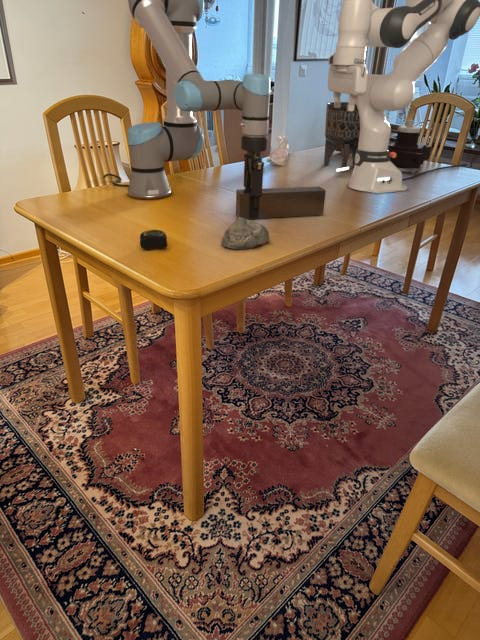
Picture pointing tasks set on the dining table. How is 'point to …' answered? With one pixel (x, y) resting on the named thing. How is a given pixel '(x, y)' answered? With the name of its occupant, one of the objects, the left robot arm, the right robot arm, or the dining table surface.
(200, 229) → the dining table surface
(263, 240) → the rock
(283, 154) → the figurine
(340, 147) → the toy
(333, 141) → the planter
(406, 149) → the mechanical component
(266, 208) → the bar
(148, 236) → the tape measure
